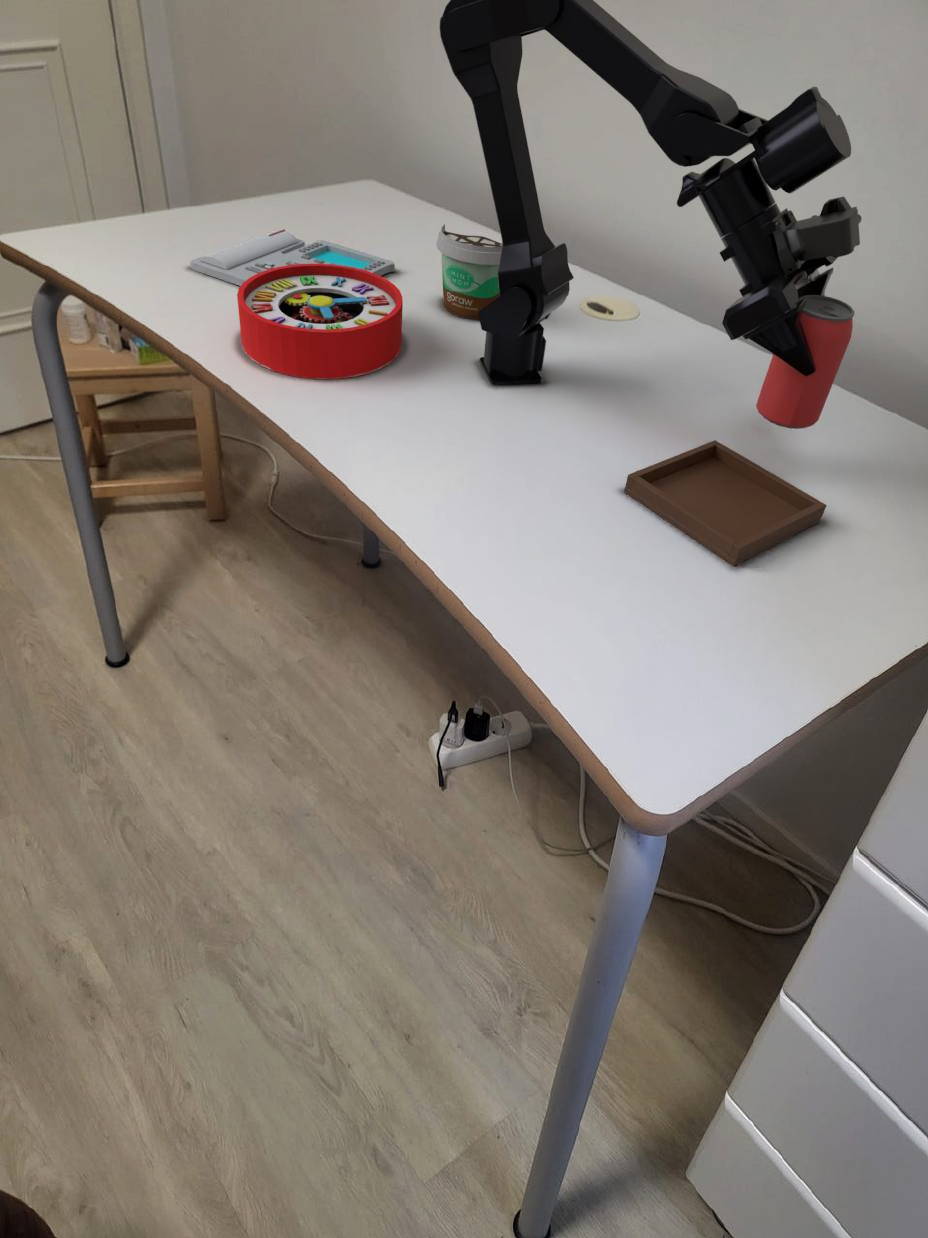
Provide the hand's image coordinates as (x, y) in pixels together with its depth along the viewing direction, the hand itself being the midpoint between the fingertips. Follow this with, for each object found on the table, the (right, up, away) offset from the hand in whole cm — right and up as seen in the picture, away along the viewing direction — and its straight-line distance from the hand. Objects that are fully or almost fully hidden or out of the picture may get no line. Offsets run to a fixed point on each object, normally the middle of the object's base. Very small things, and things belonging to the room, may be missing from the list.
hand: (820, 361), depth 89 cm
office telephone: (-60, +25, +40) cm, 76 cm away
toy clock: (-54, +9, +23) cm, 59 cm away
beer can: (-2, -4, +5) cm, 7 cm away
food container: (-35, +16, +33) cm, 51 cm away
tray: (-10, -14, +1) cm, 18 cm away
